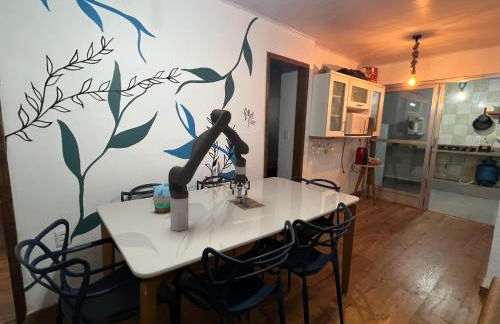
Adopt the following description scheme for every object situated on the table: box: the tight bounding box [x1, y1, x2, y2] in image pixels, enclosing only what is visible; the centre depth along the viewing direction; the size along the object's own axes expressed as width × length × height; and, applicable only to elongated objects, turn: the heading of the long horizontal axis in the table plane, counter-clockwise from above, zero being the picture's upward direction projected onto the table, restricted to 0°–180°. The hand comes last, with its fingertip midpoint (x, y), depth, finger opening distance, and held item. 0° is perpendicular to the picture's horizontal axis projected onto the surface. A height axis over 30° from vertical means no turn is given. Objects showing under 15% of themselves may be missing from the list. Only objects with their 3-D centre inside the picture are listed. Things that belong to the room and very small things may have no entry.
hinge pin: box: [236, 187, 244, 198], centre depth 173 cm, size 4×4×11 cm
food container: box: [152, 195, 170, 215], centre depth 151 cm, size 12×6×10 cm, turn 105°
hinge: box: [234, 192, 250, 208], centre depth 173 cm, size 18×14×4 cm
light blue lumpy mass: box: [152, 182, 170, 197], centre depth 171 cm, size 18×16×14 cm
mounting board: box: [227, 196, 266, 211], centre depth 173 cm, size 22×18×1 cm
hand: (239, 195), depth 173 cm, fingers open, 8 cm apart
